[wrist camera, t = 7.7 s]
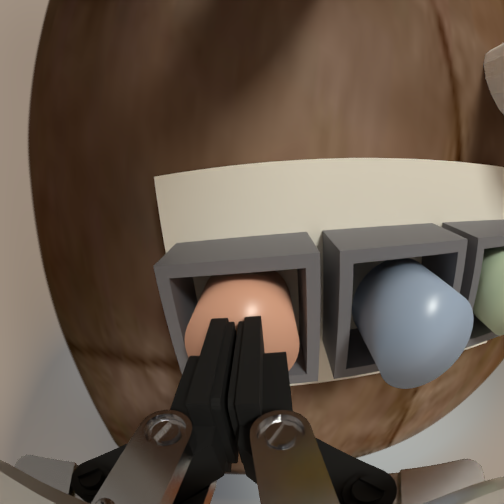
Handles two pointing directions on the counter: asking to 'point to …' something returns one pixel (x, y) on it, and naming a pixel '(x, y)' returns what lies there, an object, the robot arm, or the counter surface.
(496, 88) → the white tapered cup
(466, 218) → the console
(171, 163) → the counter surface
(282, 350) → the button one
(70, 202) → the counter surface
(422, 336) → the button two
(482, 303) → the button three
